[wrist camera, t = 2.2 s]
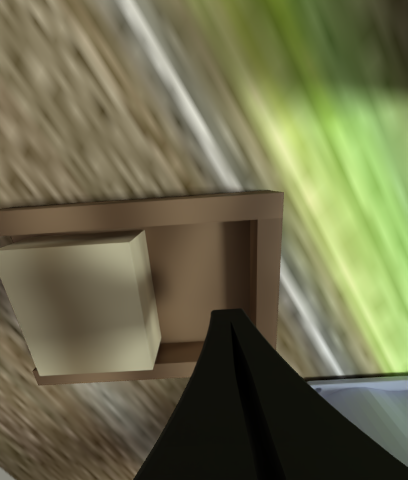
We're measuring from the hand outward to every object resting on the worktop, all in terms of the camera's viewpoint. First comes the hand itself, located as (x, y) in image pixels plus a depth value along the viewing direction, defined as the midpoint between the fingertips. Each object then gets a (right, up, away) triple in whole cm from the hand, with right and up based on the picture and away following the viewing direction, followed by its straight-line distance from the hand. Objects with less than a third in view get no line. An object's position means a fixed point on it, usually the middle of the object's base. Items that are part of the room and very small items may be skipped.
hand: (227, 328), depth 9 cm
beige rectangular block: (-7, +1, +4) cm, 8 cm away
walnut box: (-4, +1, +4) cm, 6 cm away
